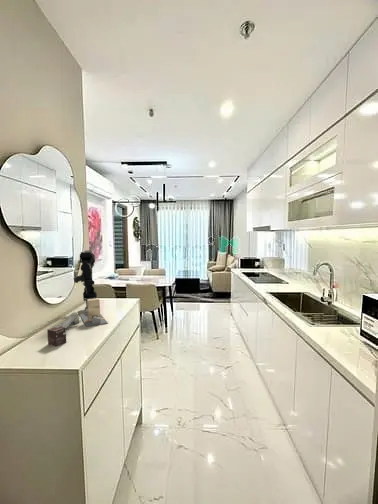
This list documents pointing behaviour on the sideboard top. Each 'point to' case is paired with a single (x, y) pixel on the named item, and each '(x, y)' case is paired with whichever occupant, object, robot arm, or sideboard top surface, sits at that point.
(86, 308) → the robot arm
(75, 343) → the sideboard top surface
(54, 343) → the box
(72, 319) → the grey flashlight
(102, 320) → the grey board
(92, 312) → the notched wooden block
